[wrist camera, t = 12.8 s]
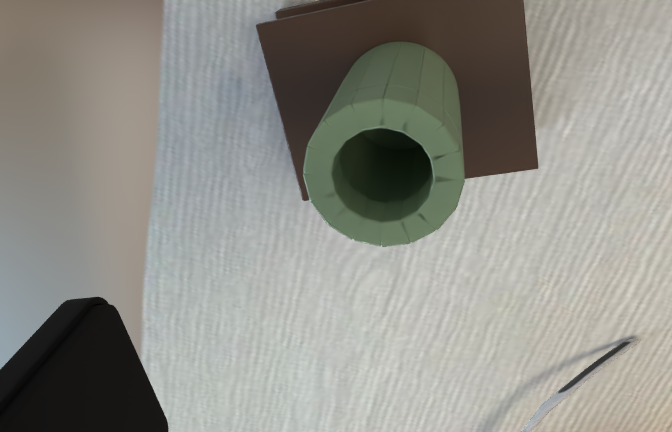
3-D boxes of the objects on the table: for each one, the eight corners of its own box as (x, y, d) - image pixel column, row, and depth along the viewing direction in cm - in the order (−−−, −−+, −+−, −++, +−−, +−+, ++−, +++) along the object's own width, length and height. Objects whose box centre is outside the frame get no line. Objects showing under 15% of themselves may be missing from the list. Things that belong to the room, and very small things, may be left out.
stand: (278, 9, 29) (255, 25, 25) (510, -41, 26) (520, -31, 23) (318, 168, 32) (302, 201, 29) (527, 136, 30) (538, 169, 26)
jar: (331, 53, 25) (286, 114, 18) (449, 30, 24) (451, 85, 17) (355, 162, 27) (323, 254, 20) (466, 145, 26) (473, 237, 19)
